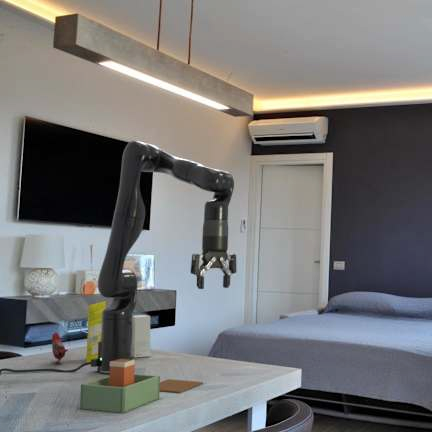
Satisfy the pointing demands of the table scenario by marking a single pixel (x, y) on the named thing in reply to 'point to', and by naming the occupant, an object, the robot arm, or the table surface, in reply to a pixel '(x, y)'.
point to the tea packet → (121, 373)
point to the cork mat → (177, 385)
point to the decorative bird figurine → (58, 347)
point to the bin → (119, 394)
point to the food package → (94, 329)
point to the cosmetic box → (141, 336)
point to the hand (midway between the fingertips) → (213, 288)
